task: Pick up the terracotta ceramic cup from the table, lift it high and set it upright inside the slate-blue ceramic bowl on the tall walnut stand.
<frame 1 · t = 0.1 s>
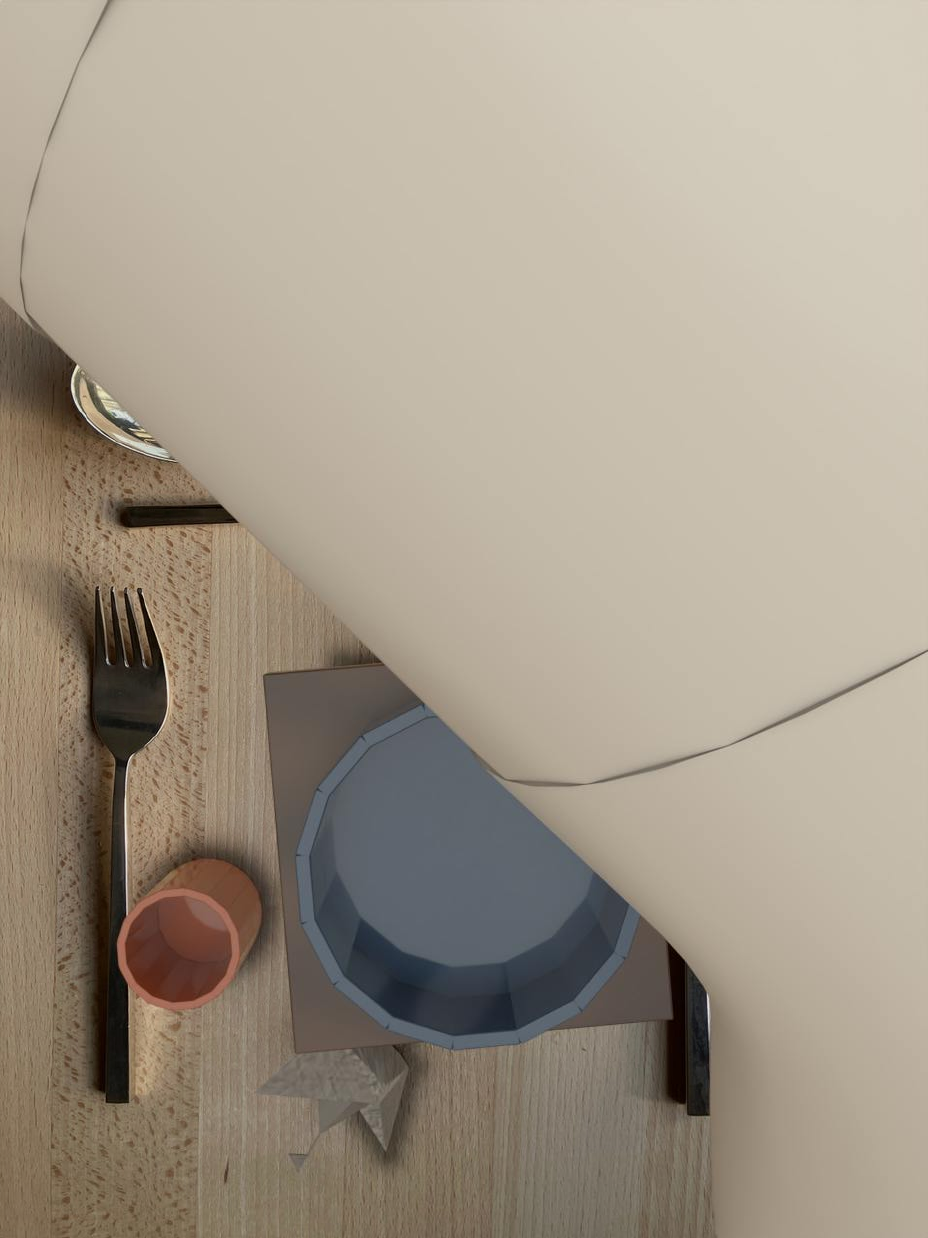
grey origami bird: (338, 1071, 68), on the table
stand: (459, 766, 68), on the table
cup: (207, 912, 68), on the table
bowl: (469, 848, 44), resting on stand
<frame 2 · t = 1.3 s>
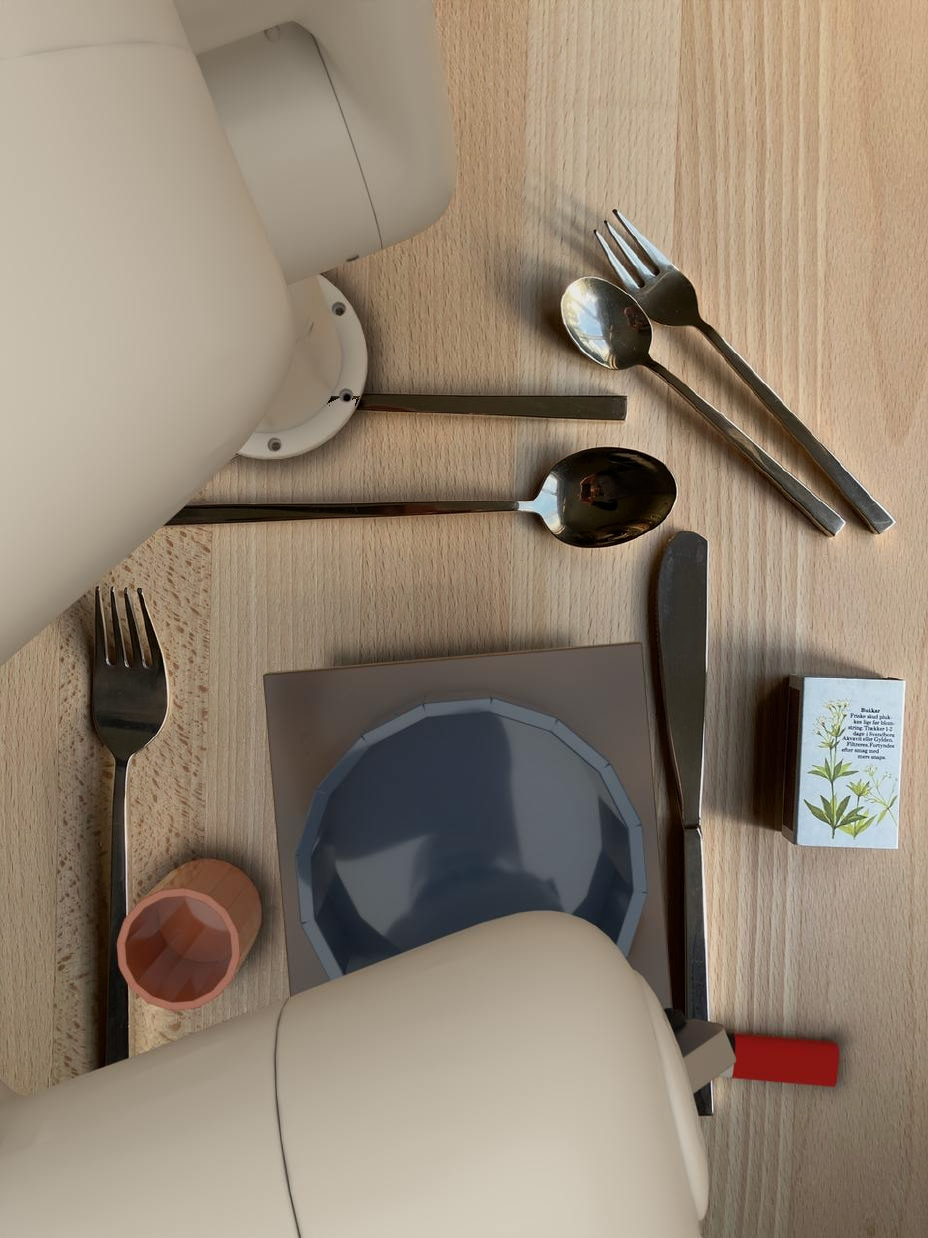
hand: (488, 1045, 44), 24 cm above the table, tool pointing down, fingers open, 9 cm apart
nothing on the table moved.
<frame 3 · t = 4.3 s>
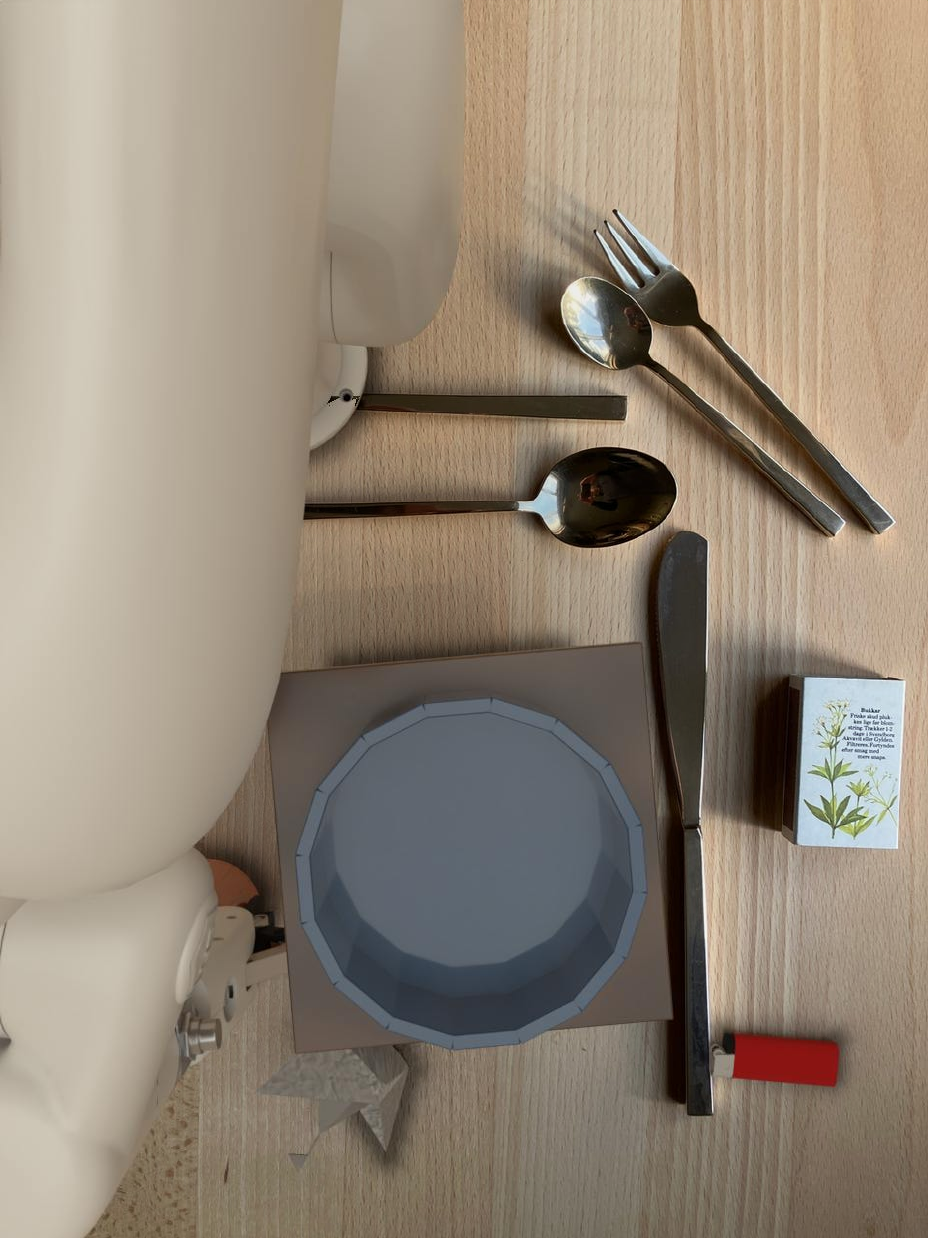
hand: (197, 925, 65), 3 cm above the table, tool pointing down, fingers closed on cup, 7 cm apart
cup: (207, 912, 68), on the table, touching gripper
everything else where it was.
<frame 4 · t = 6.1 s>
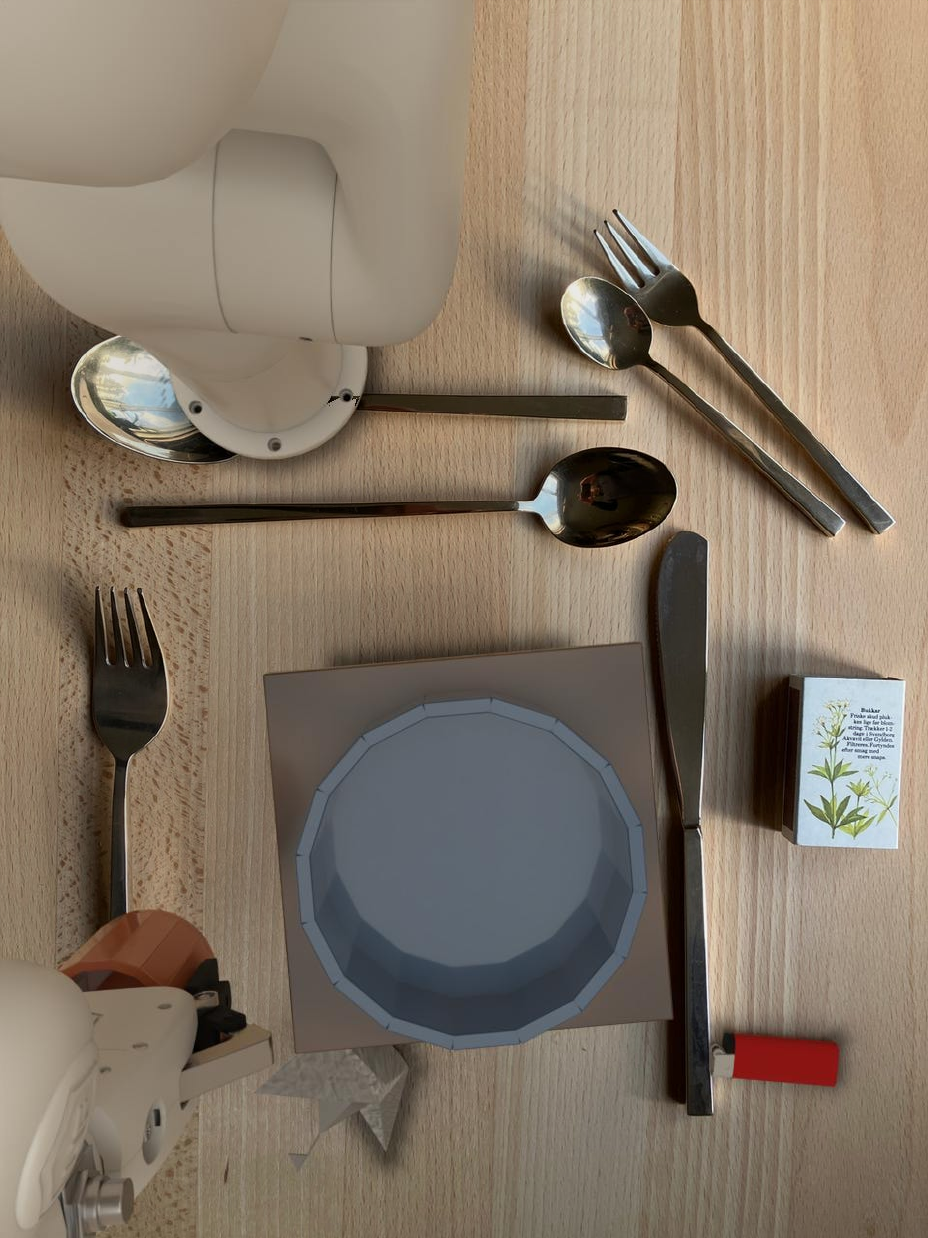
hand: (134, 996, 52), 16 cm above the table, tool pointing down, fingers closed on cup, 7 cm apart
cup: (149, 976, 54), point 14 cm above the table, touching gripper
everything else where it was.
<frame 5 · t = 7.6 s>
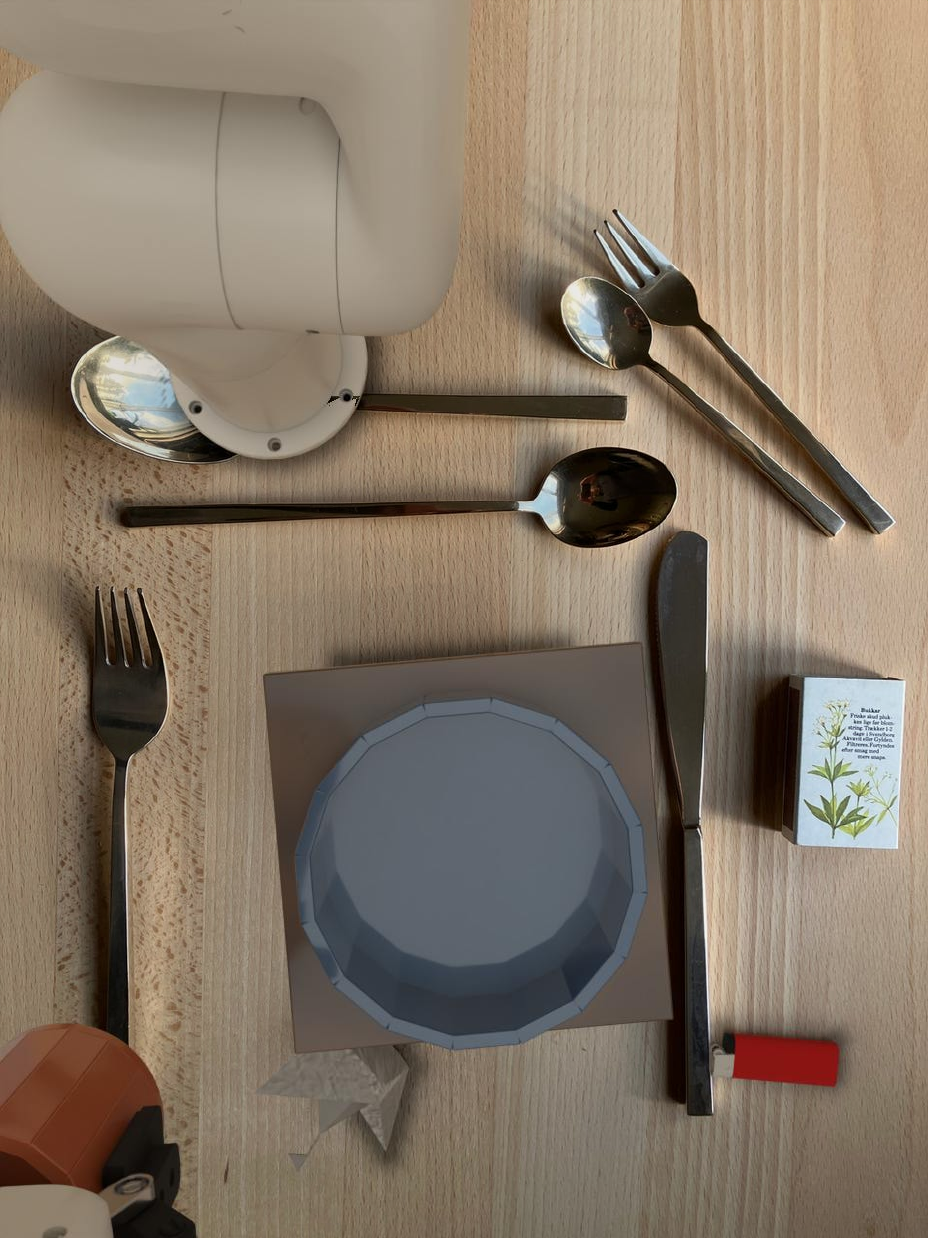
hand: (34, 1161, 34), 34 cm above the table, tool pointing down, fingers closed on cup, 7 cm apart
cup: (64, 1121, 37), point 31 cm above the table, touching gripper
everything else where it was.
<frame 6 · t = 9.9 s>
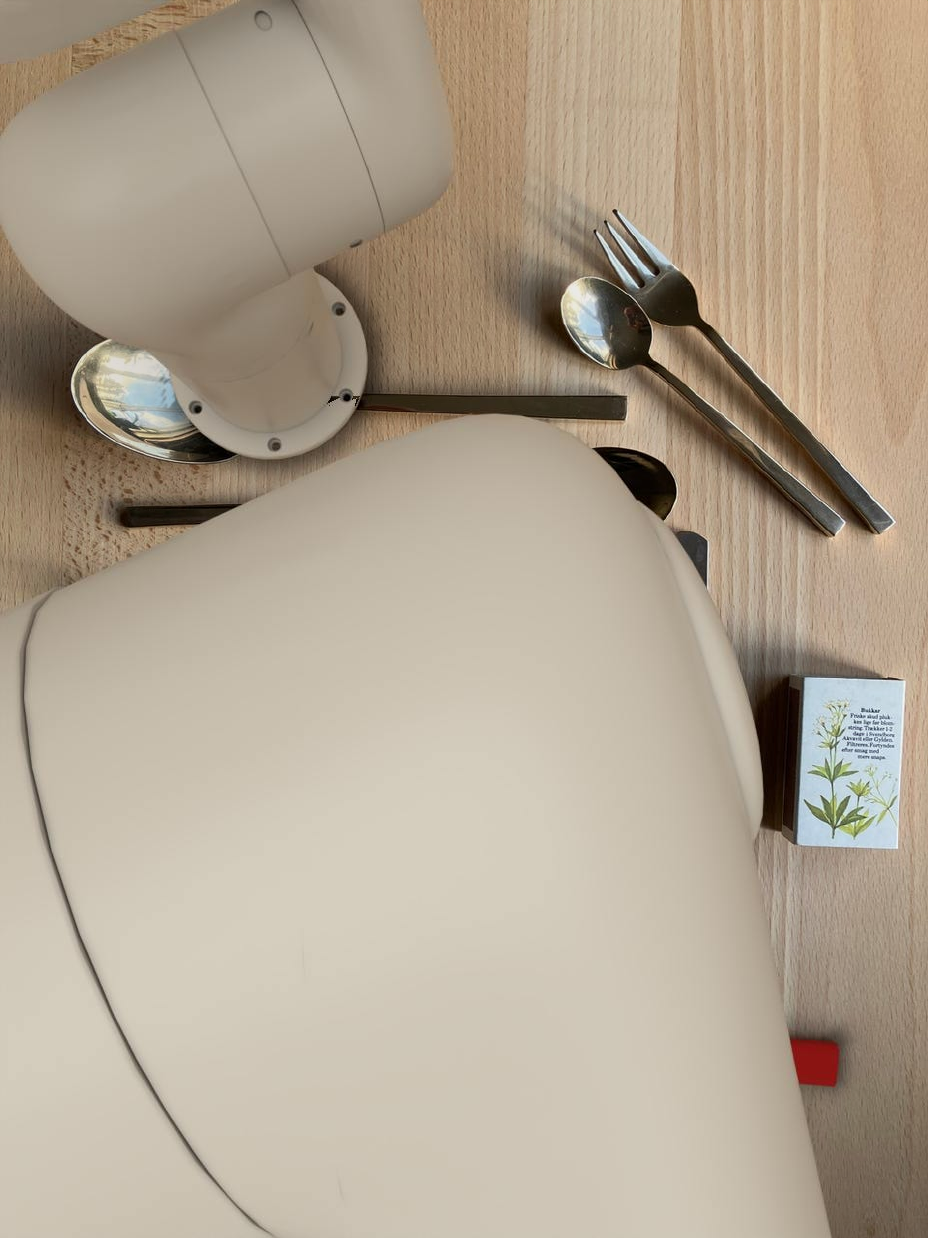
hand: (474, 886, 38), 30 cm above the table, tool pointing down, fingers closed on cup, 7 cm apart
cup: (472, 870, 41), point 27 cm above the table, touching gripper
everything else where it was.
when the fingers open (27 cm above the table, at t = 11.2 s): cup stays where it is, resting on bowl.
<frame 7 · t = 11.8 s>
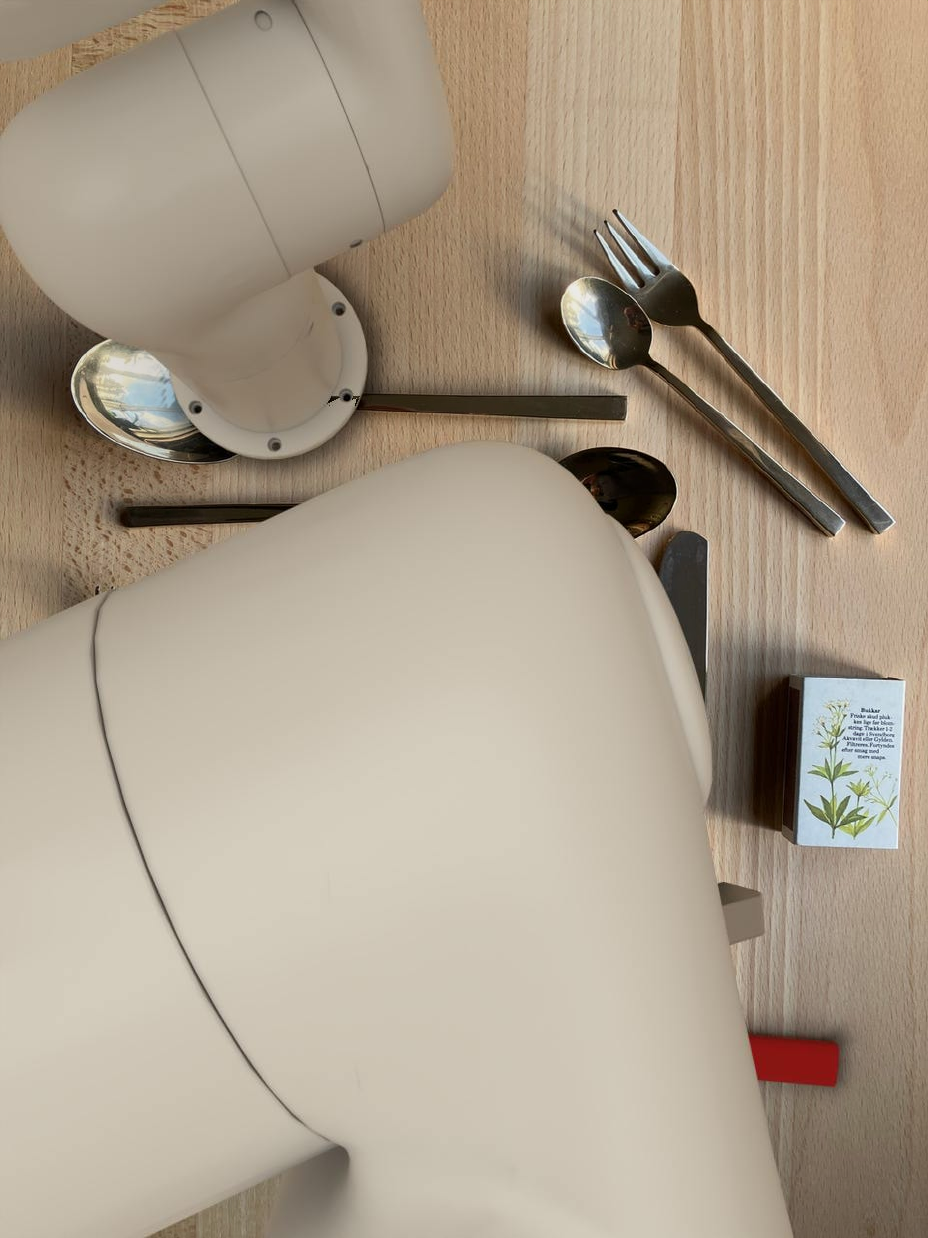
hand: (471, 872, 40), 28 cm above the table, tool pointing down, fingers open, 9 cm apart
cup: (470, 853, 44), point 25 cm above the table, touching bowl
everything else where it was.
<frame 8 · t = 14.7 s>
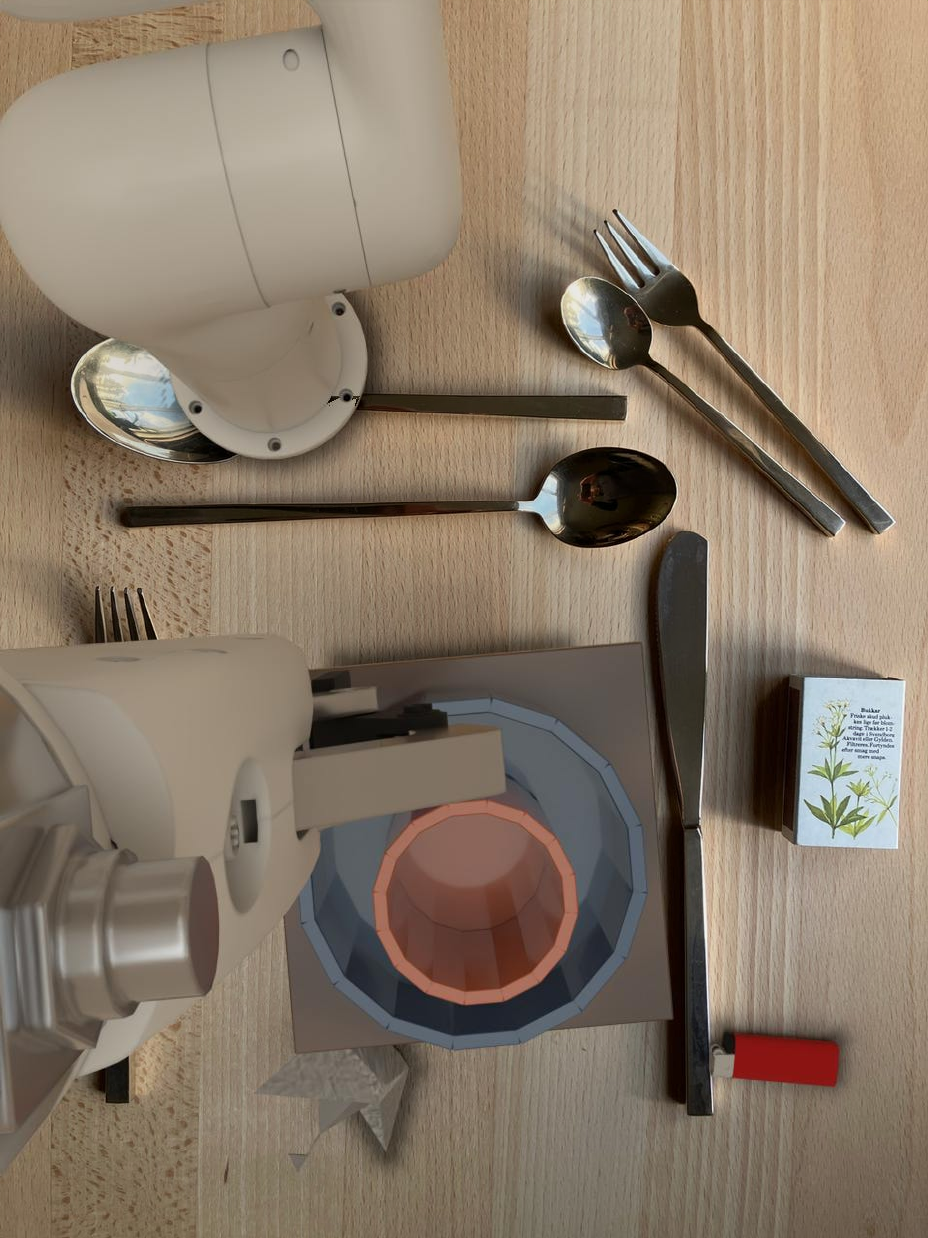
hand: (159, 746, 28), 40 cm above the table, tool pointing down, fingers open, 9 cm apart
nothing on the table moved.
at the end: cup 0.1 cm off-centre on the bowl, point 0.6 cm above the bowl's base; cup tilted 0° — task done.
